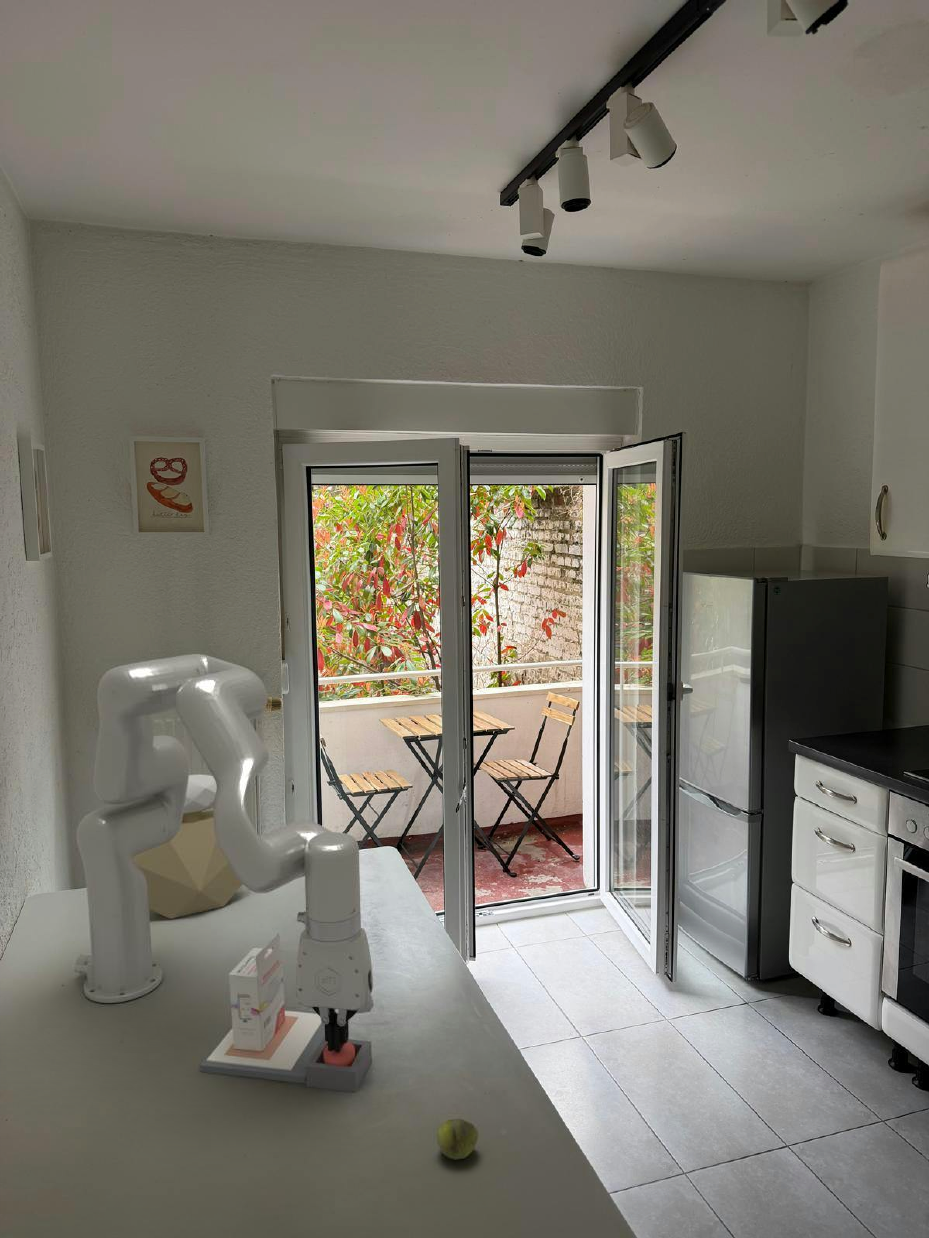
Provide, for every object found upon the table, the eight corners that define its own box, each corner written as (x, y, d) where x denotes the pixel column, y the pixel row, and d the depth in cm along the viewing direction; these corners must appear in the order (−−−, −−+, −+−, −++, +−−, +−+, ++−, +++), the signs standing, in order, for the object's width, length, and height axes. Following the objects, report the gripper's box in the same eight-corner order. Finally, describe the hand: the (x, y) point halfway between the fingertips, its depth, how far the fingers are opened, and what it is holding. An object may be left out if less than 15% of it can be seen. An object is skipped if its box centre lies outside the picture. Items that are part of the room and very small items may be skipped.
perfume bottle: (260, 904, 180) (254, 772, 177) (138, 934, 168) (129, 793, 165) (243, 884, 191) (237, 759, 188) (127, 910, 179) (118, 777, 176)
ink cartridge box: (256, 1017, 136) (252, 927, 135) (286, 1020, 135) (282, 929, 134) (231, 1049, 128) (226, 954, 126) (262, 1053, 127) (258, 957, 125)
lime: (432, 1154, 108) (431, 1116, 107) (464, 1137, 111) (463, 1100, 110) (452, 1175, 104) (451, 1136, 104) (485, 1158, 107) (484, 1120, 106)
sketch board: (200, 1071, 125) (200, 1062, 125) (249, 1010, 141) (248, 1002, 141) (305, 1083, 122) (305, 1074, 122) (343, 1019, 138) (343, 1011, 137)
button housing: (306, 1086, 121) (305, 1066, 121) (324, 1055, 128) (324, 1036, 128) (356, 1092, 120) (355, 1071, 120) (371, 1060, 127) (371, 1041, 127)
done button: (319, 1077, 122) (318, 1057, 122) (330, 1058, 127) (329, 1039, 126) (349, 1081, 121) (348, 1061, 121) (359, 1062, 126) (358, 1042, 125)
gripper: (272, 930, 120) (277, 1056, 122) (377, 940, 117) (380, 1068, 119) (293, 907, 127) (297, 1025, 129) (392, 915, 124) (395, 1036, 126)
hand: (337, 1045), depth 124 cm, fingers closed
